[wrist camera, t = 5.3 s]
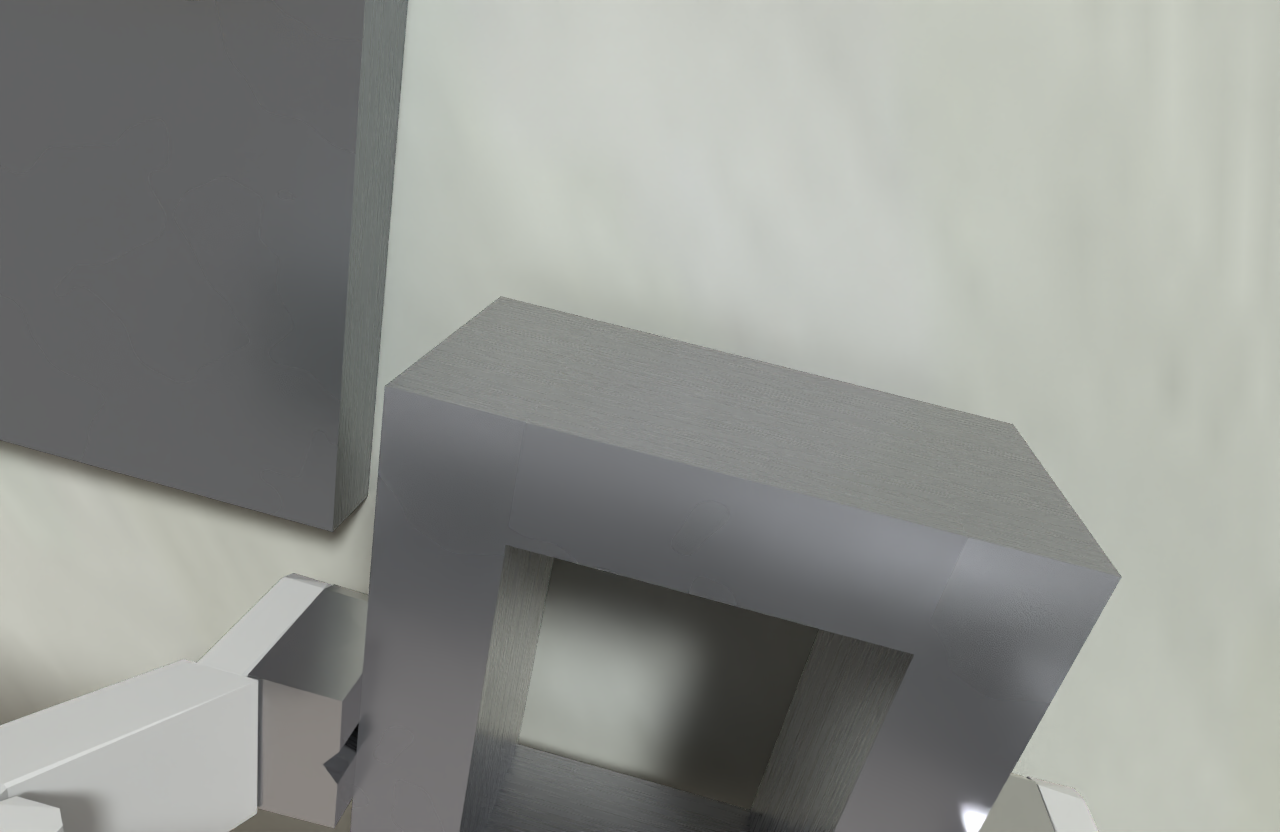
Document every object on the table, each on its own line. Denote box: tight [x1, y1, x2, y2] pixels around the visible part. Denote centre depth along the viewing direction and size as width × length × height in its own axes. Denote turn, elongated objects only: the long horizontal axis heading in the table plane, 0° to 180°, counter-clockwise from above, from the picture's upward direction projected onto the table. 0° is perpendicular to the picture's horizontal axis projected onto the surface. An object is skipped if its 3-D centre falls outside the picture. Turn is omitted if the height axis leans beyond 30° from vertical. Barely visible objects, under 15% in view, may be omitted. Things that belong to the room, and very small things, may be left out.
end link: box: [350, 296, 1121, 832], centre depth 9 cm, size 6×8×3 cm
